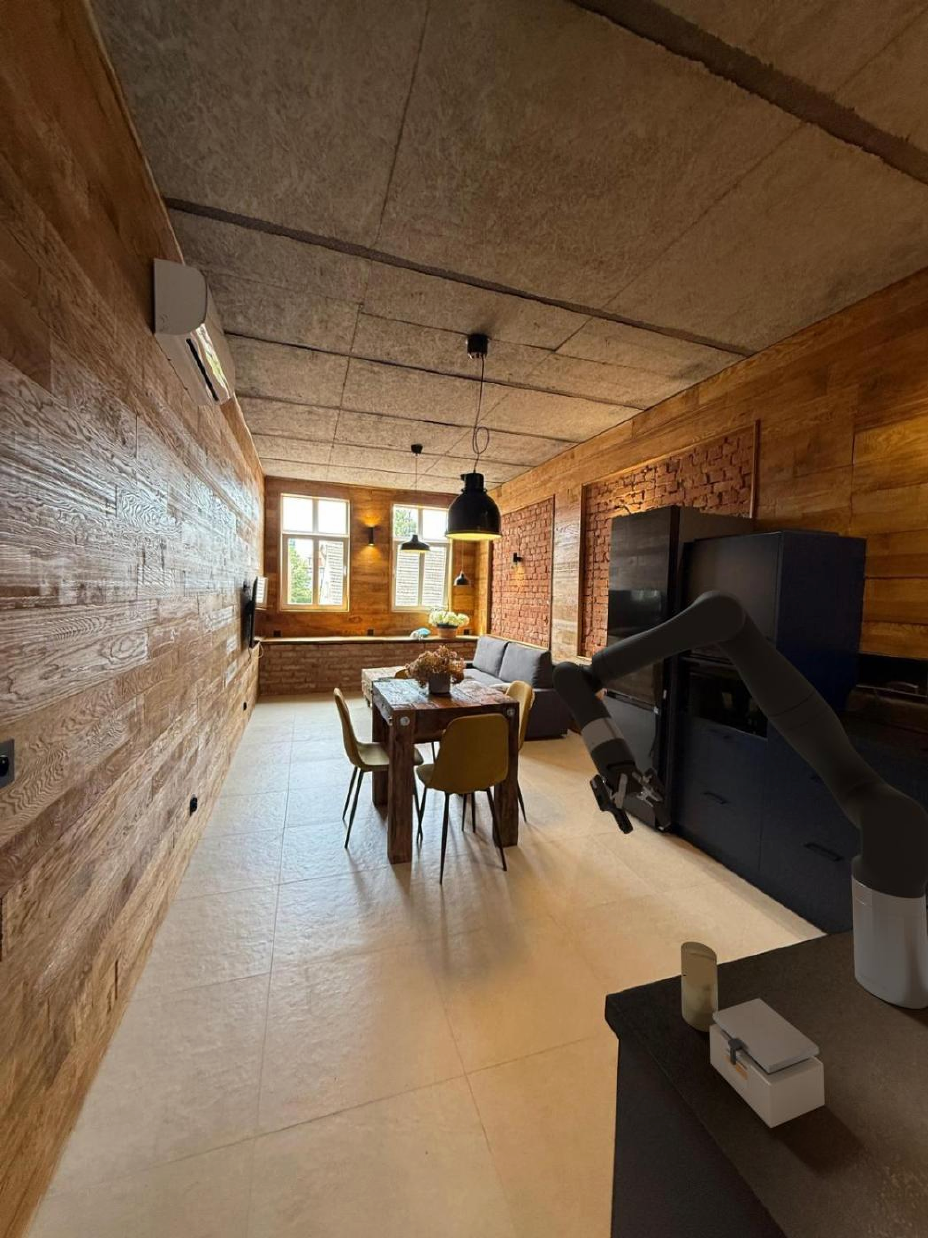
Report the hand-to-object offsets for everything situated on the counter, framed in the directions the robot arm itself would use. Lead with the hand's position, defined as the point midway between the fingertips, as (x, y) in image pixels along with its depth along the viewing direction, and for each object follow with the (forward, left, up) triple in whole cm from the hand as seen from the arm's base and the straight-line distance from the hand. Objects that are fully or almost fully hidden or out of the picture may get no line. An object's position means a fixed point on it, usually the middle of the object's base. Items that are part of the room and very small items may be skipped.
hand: (648, 828), depth 82 cm
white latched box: (-1, +21, -25) cm, 33 cm away
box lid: (0, +21, -22) cm, 31 cm away
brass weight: (-1, +10, -25) cm, 27 cm away
